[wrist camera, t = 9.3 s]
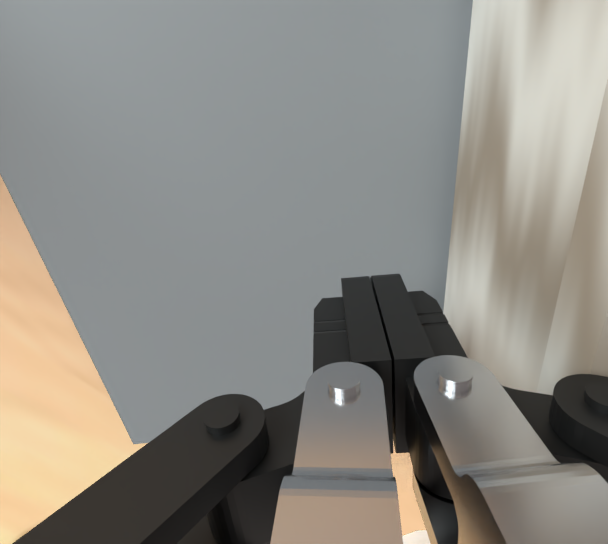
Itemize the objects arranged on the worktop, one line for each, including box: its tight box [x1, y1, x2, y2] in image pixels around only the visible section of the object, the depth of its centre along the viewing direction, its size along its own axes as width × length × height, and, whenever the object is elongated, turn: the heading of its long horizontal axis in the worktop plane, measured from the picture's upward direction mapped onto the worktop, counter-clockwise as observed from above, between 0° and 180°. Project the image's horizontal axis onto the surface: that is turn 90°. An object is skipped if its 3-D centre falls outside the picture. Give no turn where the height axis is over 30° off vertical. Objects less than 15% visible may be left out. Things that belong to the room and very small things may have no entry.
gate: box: [443, 0, 608, 395], centre depth 10 cm, size 14×2×9 cm, turn 3°
